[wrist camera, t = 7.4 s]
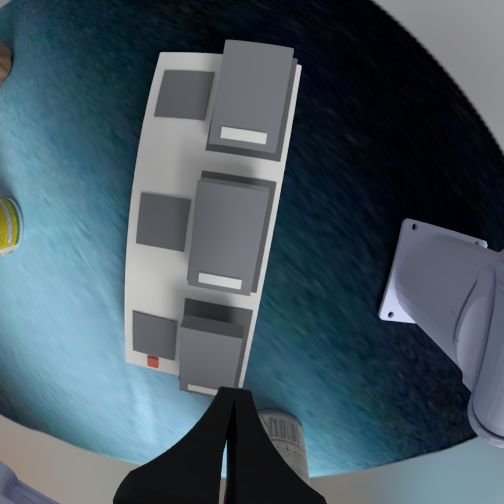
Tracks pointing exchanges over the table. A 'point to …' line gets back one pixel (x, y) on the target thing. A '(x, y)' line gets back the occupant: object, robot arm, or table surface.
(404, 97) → the table surface
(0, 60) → the cupcake
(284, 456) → the aerosol can
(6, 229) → the supplement bottle
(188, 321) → the rocker
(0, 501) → the robot arm
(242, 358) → the power strip
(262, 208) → the rocker
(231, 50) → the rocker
